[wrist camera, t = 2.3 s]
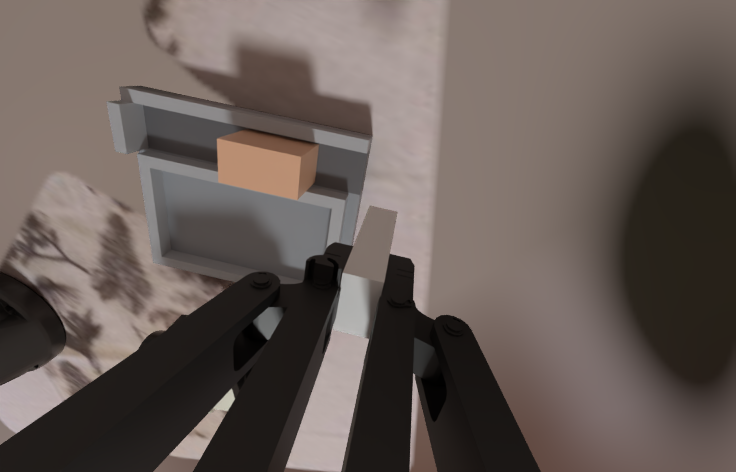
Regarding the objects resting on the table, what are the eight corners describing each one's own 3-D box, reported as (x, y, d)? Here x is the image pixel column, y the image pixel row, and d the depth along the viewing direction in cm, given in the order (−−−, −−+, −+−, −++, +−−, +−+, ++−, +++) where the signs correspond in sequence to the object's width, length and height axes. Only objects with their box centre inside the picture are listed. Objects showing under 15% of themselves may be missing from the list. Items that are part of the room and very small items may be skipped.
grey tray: (162, 248, 35) (135, 265, 31) (140, 85, 27) (103, 87, 24) (344, 291, 34) (336, 313, 31) (372, 135, 26) (366, 144, 23)
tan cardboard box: (247, 166, 28) (218, 182, 24) (247, 128, 26) (216, 138, 22) (314, 182, 28) (297, 200, 24) (319, 144, 26) (300, 156, 22)
